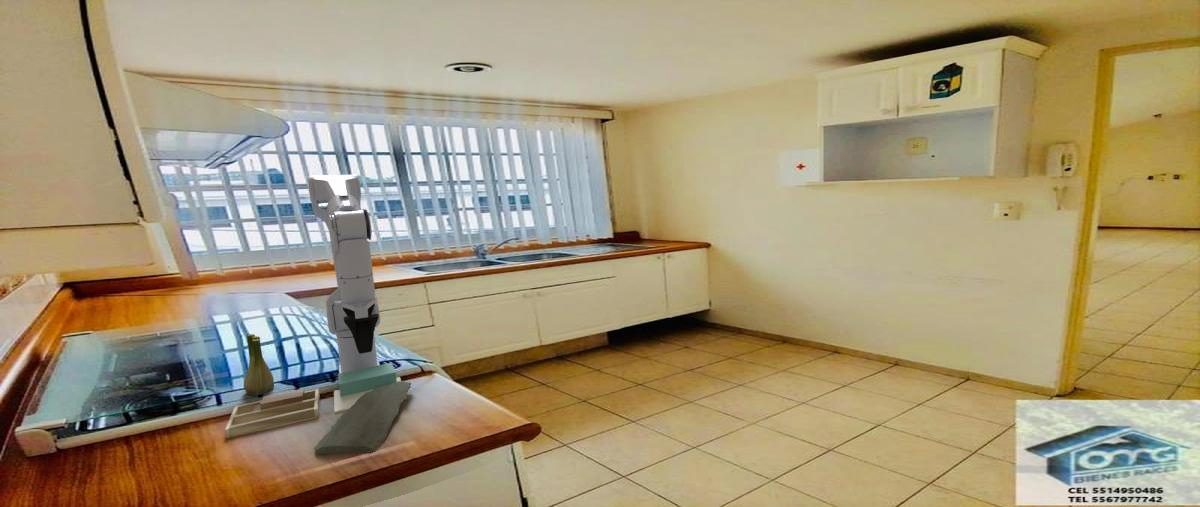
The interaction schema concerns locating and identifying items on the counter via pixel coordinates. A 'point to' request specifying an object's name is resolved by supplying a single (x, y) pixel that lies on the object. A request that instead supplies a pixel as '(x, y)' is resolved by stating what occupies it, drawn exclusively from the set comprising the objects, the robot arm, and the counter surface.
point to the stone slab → (365, 421)
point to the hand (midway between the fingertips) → (364, 346)
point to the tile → (349, 399)
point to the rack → (271, 415)
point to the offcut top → (282, 399)
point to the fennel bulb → (257, 369)
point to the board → (366, 379)
